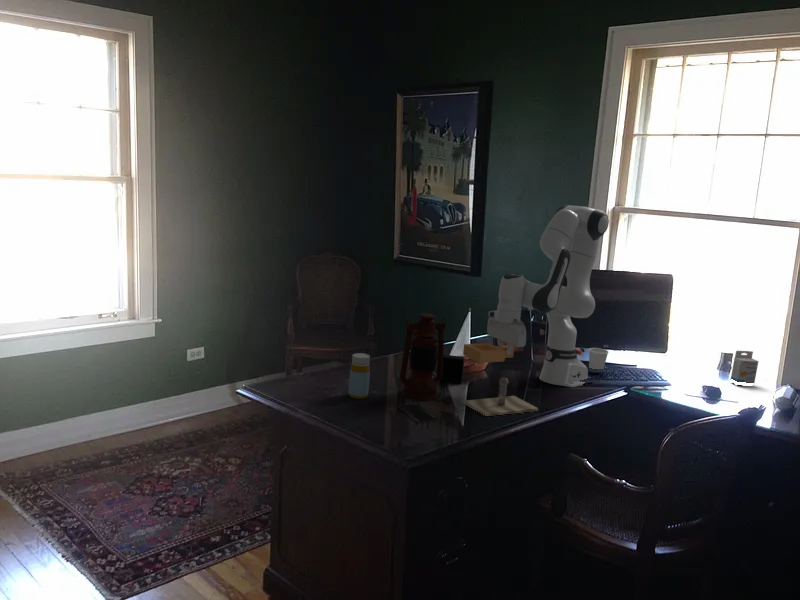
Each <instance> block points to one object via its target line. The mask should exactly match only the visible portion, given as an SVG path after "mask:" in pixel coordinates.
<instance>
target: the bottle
mask: <svg viewBox="0 0 800 600" xmlns="http://www.w3.org/2000/svg"><path fill="white" fill-rule="evenodd" d="M370 359H371V356H370V354H368V353H361V352H360V353H359V352H357V353H353V354H352V356H351V365H350V368H349V380H348V381H349V382H348V396H349V397H350V398H352V399H355V400H362V399H363V400H364V399H366V398H367V397H369V387H370V374H371V368H370V367H371V366H370V362H371V361H370Z"/></svg>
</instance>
